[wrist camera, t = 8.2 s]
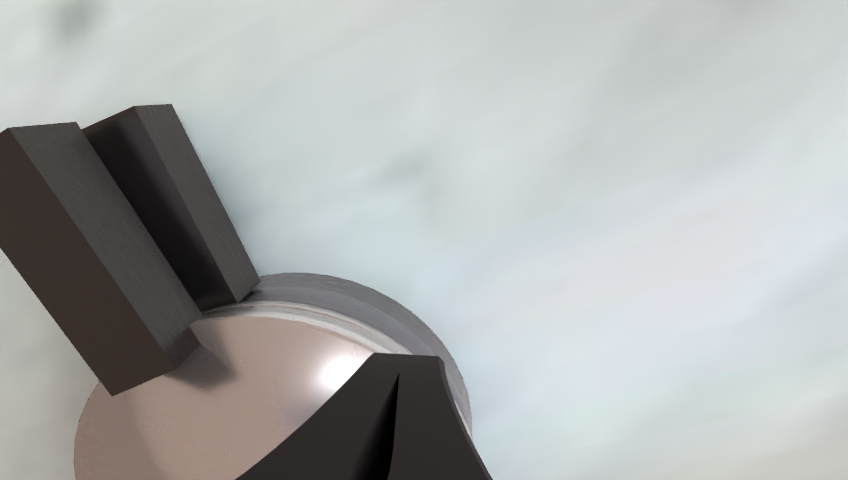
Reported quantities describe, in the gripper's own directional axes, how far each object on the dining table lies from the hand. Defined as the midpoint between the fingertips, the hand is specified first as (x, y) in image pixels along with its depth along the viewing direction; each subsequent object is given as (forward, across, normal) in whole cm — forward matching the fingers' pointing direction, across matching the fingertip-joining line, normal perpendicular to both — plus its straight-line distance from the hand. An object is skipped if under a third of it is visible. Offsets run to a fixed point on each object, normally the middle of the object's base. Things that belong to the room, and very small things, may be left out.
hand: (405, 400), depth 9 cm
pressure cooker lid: (+6, +7, +6) cm, 11 cm away
